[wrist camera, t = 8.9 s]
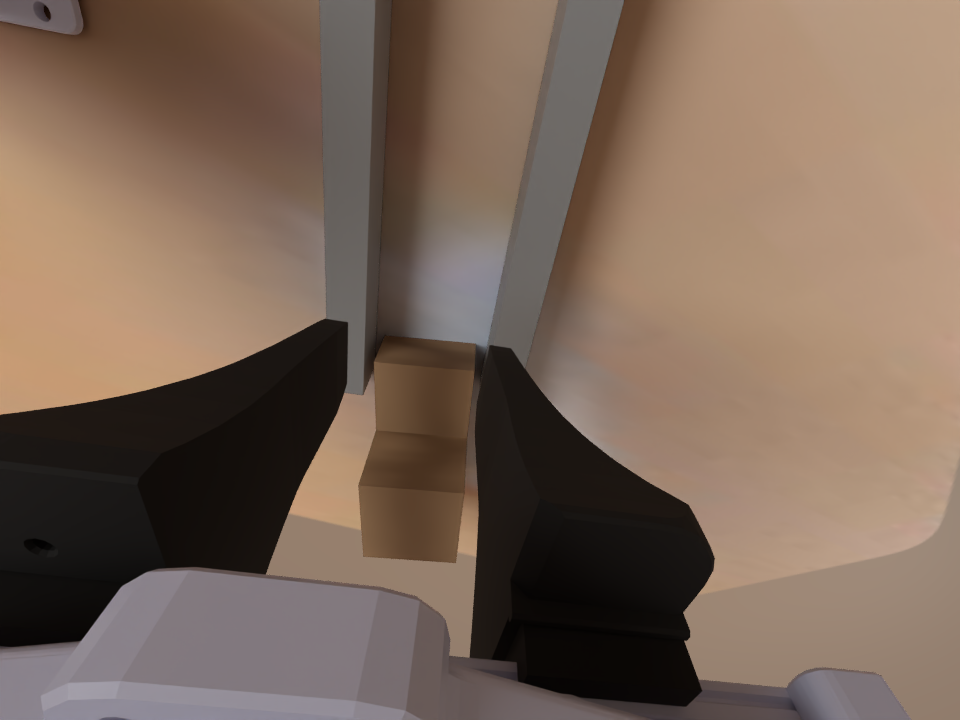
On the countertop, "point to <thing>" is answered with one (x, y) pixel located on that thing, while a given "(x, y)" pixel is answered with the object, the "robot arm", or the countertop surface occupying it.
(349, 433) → the countertop surface
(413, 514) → the block
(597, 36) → the channel
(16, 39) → the countertop surface
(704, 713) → the robot arm
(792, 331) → the countertop surface
